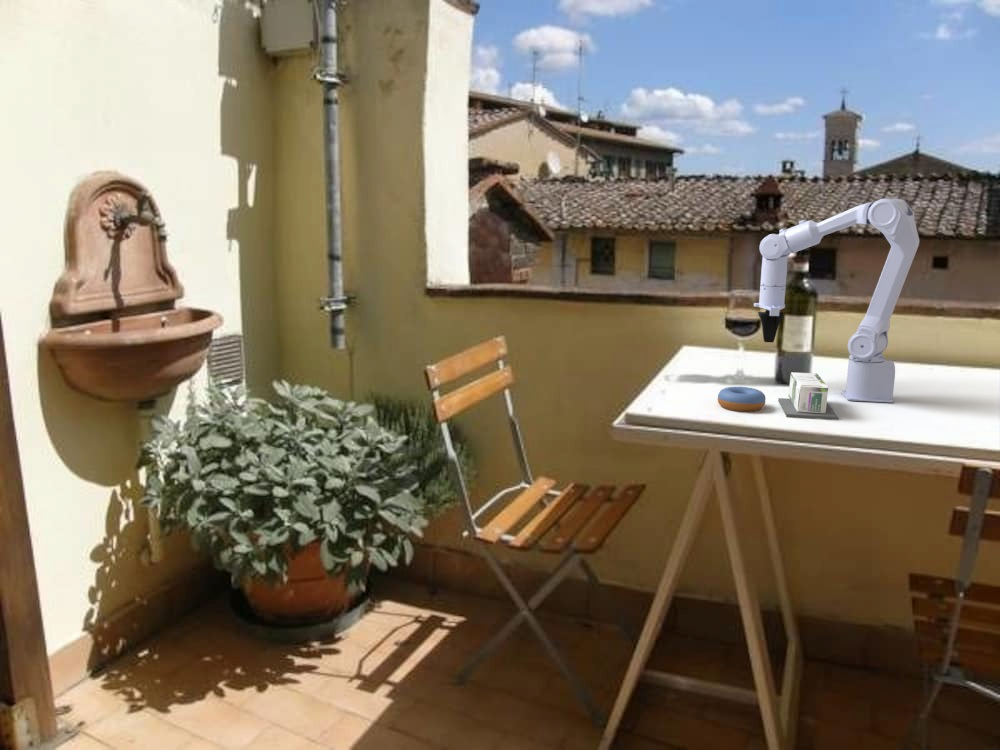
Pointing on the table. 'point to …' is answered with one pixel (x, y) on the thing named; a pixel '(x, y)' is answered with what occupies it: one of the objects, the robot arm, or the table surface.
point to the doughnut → (741, 399)
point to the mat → (792, 412)
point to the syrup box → (808, 392)
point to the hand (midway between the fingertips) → (768, 341)
